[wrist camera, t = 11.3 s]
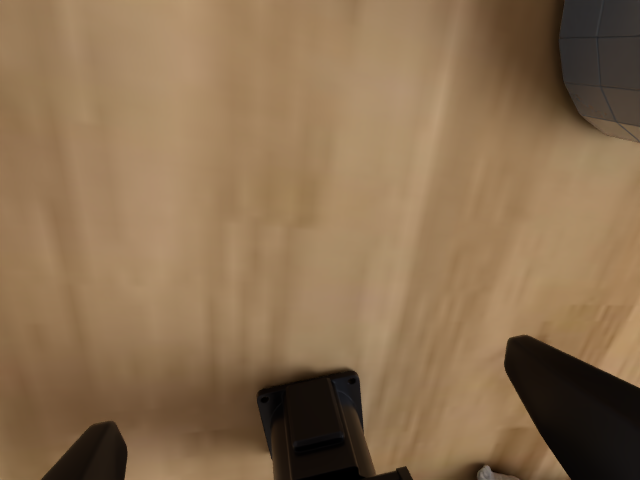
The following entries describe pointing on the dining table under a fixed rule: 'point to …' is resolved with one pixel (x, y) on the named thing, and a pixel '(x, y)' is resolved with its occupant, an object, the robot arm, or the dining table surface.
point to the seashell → (493, 475)
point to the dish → (603, 63)
